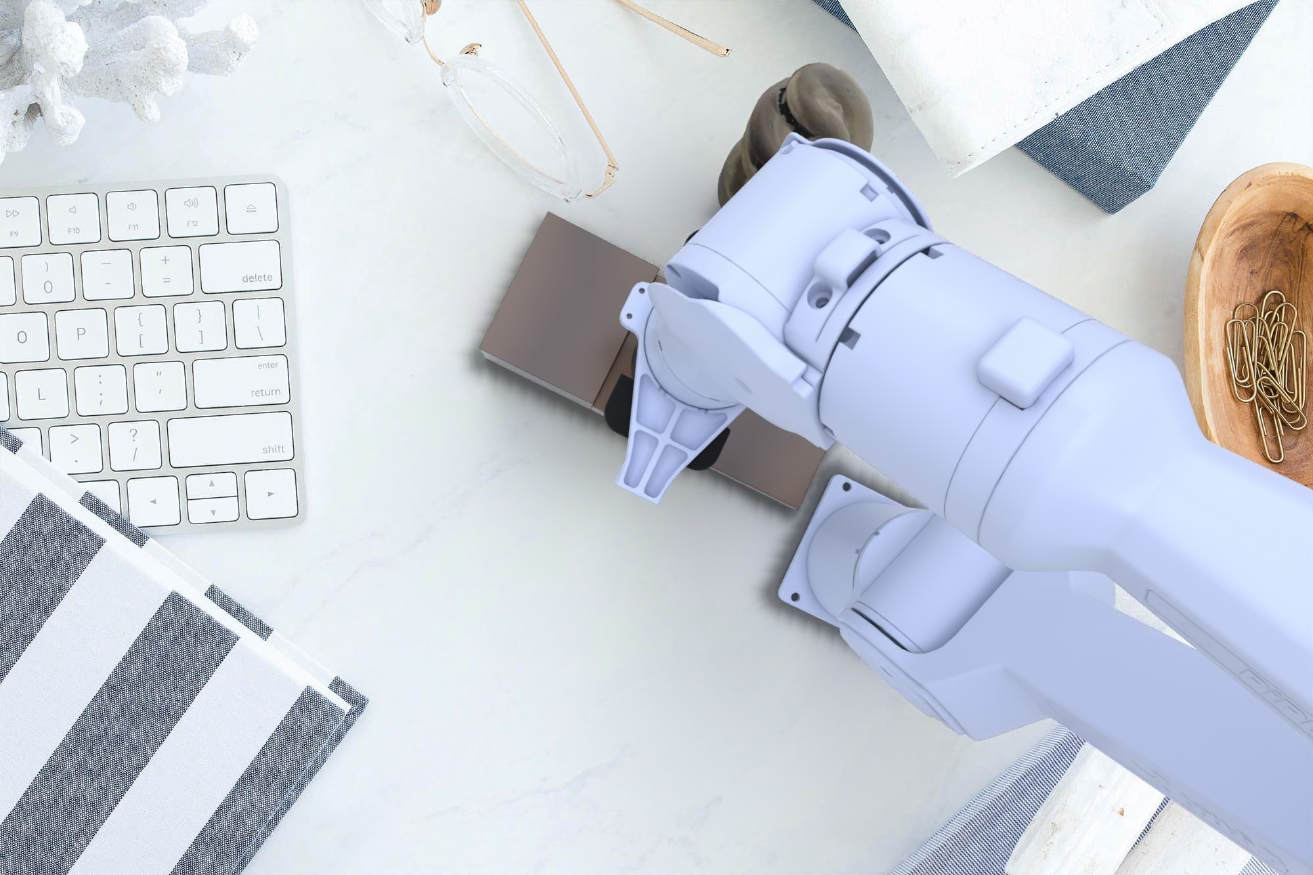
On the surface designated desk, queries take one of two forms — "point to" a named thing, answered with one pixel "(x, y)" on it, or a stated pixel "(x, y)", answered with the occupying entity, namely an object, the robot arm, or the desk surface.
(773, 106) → the brown carved figurine
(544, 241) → the steps
